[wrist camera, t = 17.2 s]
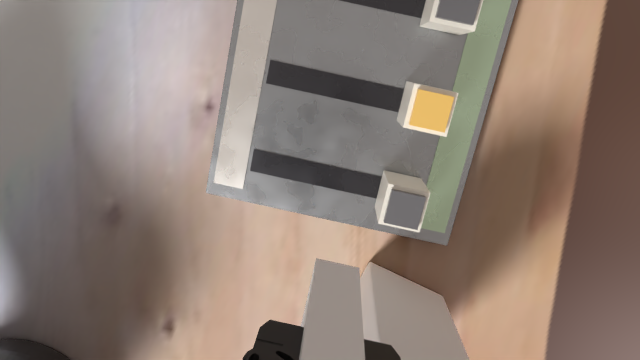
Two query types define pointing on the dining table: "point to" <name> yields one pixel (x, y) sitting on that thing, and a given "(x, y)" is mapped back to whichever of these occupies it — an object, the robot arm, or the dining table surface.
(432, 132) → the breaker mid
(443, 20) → the block
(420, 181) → the block
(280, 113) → the panel
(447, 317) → the milk carton
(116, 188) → the dining table surface
